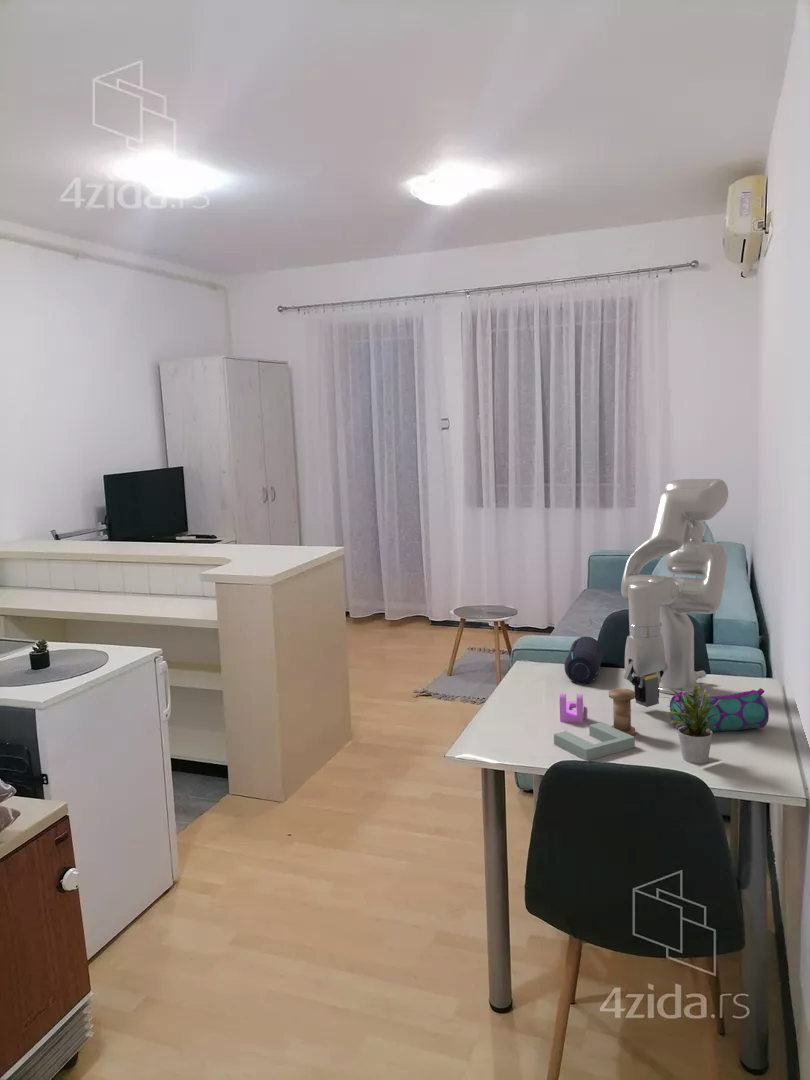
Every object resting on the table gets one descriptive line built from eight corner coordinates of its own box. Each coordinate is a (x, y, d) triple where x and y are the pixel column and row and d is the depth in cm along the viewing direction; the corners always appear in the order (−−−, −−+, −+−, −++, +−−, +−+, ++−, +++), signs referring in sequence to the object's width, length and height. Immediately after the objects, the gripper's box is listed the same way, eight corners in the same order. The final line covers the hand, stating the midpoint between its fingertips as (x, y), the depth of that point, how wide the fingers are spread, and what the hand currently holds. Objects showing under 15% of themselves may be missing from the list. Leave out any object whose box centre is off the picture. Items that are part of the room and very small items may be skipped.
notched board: (600, 732, 184) (600, 722, 184) (634, 747, 174) (634, 736, 174) (554, 744, 178) (553, 733, 178) (586, 760, 168) (586, 749, 168)
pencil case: (681, 737, 179) (681, 698, 178) (669, 724, 188) (668, 686, 187) (770, 734, 179) (771, 694, 178) (753, 721, 187) (754, 682, 186)
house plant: (658, 742, 176) (657, 673, 175) (722, 746, 172) (722, 676, 171) (659, 767, 163) (659, 692, 161) (729, 772, 159) (729, 695, 157)
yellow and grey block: (647, 699, 199) (646, 669, 198) (658, 703, 196) (657, 673, 194) (635, 702, 197) (634, 673, 196) (647, 707, 194) (646, 677, 193)
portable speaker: (572, 663, 245) (571, 633, 244) (604, 664, 242) (603, 634, 240) (563, 687, 221) (562, 653, 220) (598, 688, 218) (598, 654, 217)
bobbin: (623, 726, 187) (622, 687, 186) (640, 734, 182) (640, 693, 181) (604, 731, 185) (603, 691, 184) (621, 739, 179) (620, 697, 178)
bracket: (582, 723, 191) (582, 696, 190) (560, 722, 193) (559, 695, 192) (584, 706, 204) (583, 681, 203) (563, 705, 205) (562, 680, 204)
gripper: (658, 621, 201) (660, 687, 203) (609, 633, 193) (611, 702, 196) (680, 626, 194) (682, 695, 197) (630, 639, 187) (632, 710, 189)
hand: (647, 698), depth 196 cm, fingers closed on yellow and grey block, 4 cm apart
